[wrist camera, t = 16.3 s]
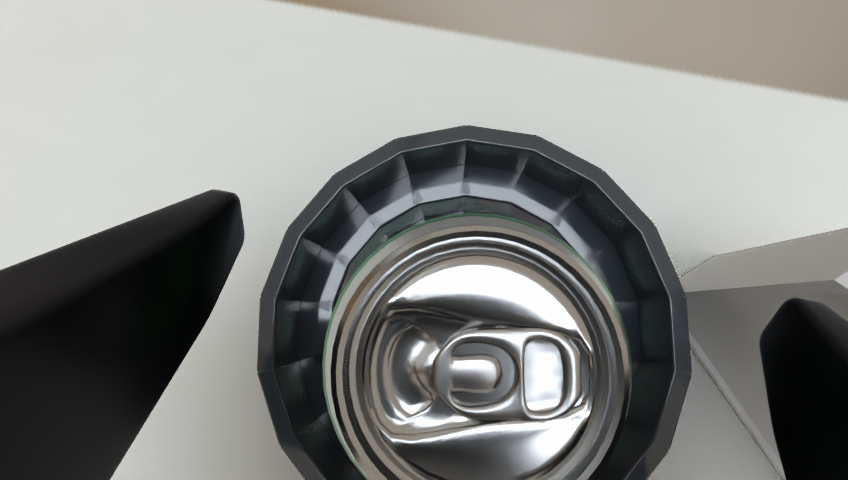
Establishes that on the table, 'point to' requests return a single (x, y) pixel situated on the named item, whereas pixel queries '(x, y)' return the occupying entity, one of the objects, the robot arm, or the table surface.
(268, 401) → the grey ribbed bowl
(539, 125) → the table surface
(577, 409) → the soda can
